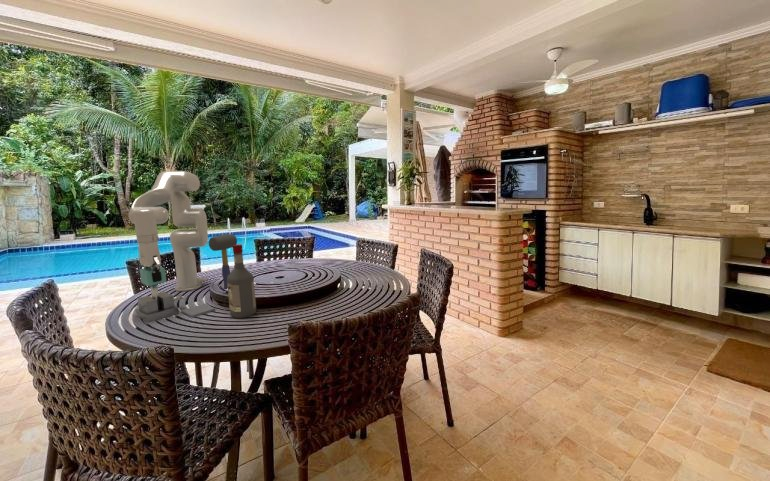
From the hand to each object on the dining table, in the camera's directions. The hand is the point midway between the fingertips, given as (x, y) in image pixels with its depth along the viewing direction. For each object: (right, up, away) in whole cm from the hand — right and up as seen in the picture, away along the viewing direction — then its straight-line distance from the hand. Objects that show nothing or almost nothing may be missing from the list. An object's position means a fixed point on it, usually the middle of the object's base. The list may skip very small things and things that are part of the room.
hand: (153, 279), depth 150 cm
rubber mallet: (+18, -10, +31) cm, 37 cm away
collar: (0, -1, 0) cm, 1 cm away
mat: (+16, -15, +5) cm, 23 cm away
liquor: (+38, -15, +1) cm, 41 cm away
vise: (+2, -15, +4) cm, 16 cm away
